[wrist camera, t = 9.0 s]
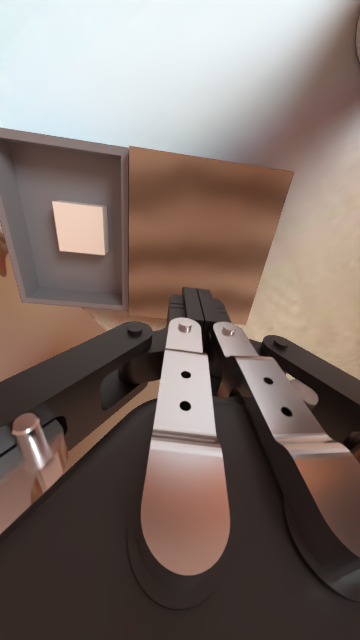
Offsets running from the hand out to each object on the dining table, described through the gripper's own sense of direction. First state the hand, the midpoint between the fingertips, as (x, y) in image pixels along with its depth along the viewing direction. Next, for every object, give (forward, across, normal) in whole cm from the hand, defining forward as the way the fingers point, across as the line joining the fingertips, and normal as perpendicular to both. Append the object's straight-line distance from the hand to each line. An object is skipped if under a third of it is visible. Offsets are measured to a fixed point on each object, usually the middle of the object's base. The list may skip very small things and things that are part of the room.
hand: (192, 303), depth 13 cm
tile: (+20, +13, +1) cm, 24 cm away
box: (+23, +14, +2) cm, 27 cm away
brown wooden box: (+23, -3, +2) cm, 24 cm away
